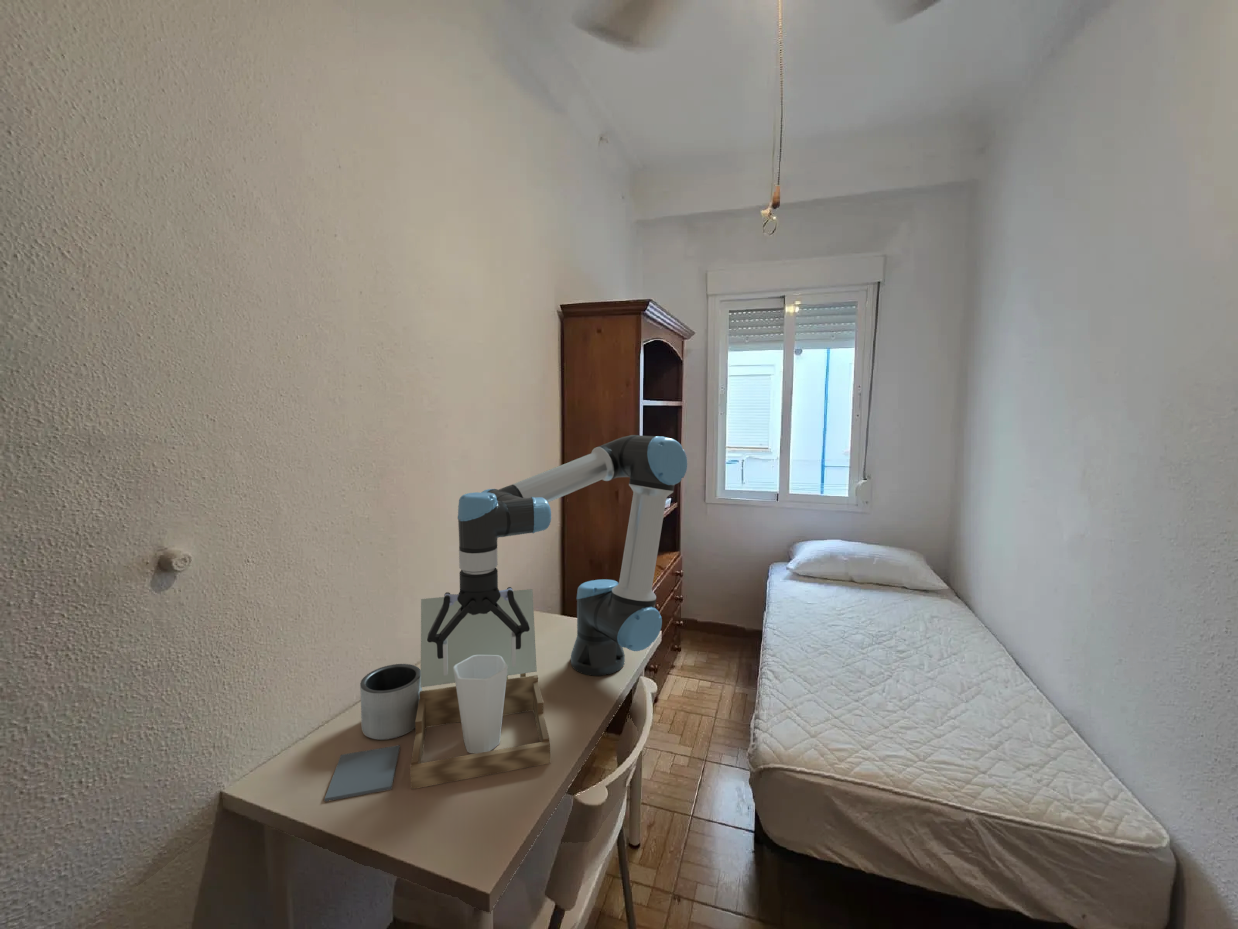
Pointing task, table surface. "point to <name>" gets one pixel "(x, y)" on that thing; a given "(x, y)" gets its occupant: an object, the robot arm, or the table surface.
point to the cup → (481, 700)
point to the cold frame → (445, 710)
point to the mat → (363, 773)
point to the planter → (390, 701)
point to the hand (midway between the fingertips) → (480, 668)
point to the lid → (476, 638)
